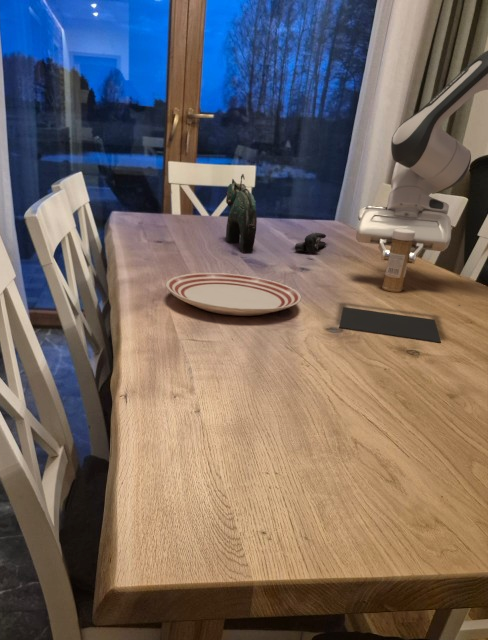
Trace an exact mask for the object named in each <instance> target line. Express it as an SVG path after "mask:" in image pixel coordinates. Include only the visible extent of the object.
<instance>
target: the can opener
mask: <svg viewBox="0 0 488 640" xmlns="http://www.w3.org/2000/svg"><path fill="white" fill-rule="evenodd" d="M326 237H327V234H325V233H323V232H322V233H321V232H316V231H312V232H311V233H310V234H308V235H306V236H305V238H304V241H303V242H298V243H296V244H295V245H294V249H295V251H296V252H304V253H305V252H307V253H308V254H315V253H317V252H319V248H323V247H325V246H327V243H326V241H322V239H325V238H326Z"/></svg>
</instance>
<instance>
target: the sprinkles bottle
mask: <svg viewBox="0 0 488 640" xmlns="http://www.w3.org/2000/svg"><path fill="white" fill-rule="evenodd" d="M414 236H415V231H413V230H408V229H394V231H393V236H392V244H391V246H390V248H389V250H390V253H389V259H388V261H387V263H386V268H385V273H384V278H383V283H382V286H381V288H382V290H384V291H387V292H392V293H400V292H402V291H403V285H404V281H405V277H406V274H407V268H408V264H409V263H408V259H409V254H410V253H411V251H412V250H411V249H412V248H411V245H412V242H413V240H414Z"/></svg>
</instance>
